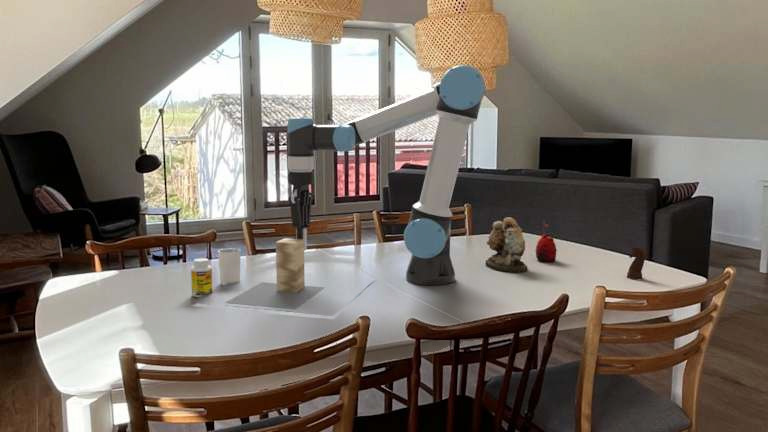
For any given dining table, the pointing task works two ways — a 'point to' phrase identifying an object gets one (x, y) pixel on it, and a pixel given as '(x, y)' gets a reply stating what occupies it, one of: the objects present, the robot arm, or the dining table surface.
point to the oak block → (290, 264)
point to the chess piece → (636, 263)
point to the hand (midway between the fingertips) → (301, 249)
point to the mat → (275, 296)
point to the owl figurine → (506, 247)
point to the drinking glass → (229, 265)
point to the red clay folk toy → (546, 248)
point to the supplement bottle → (201, 277)
